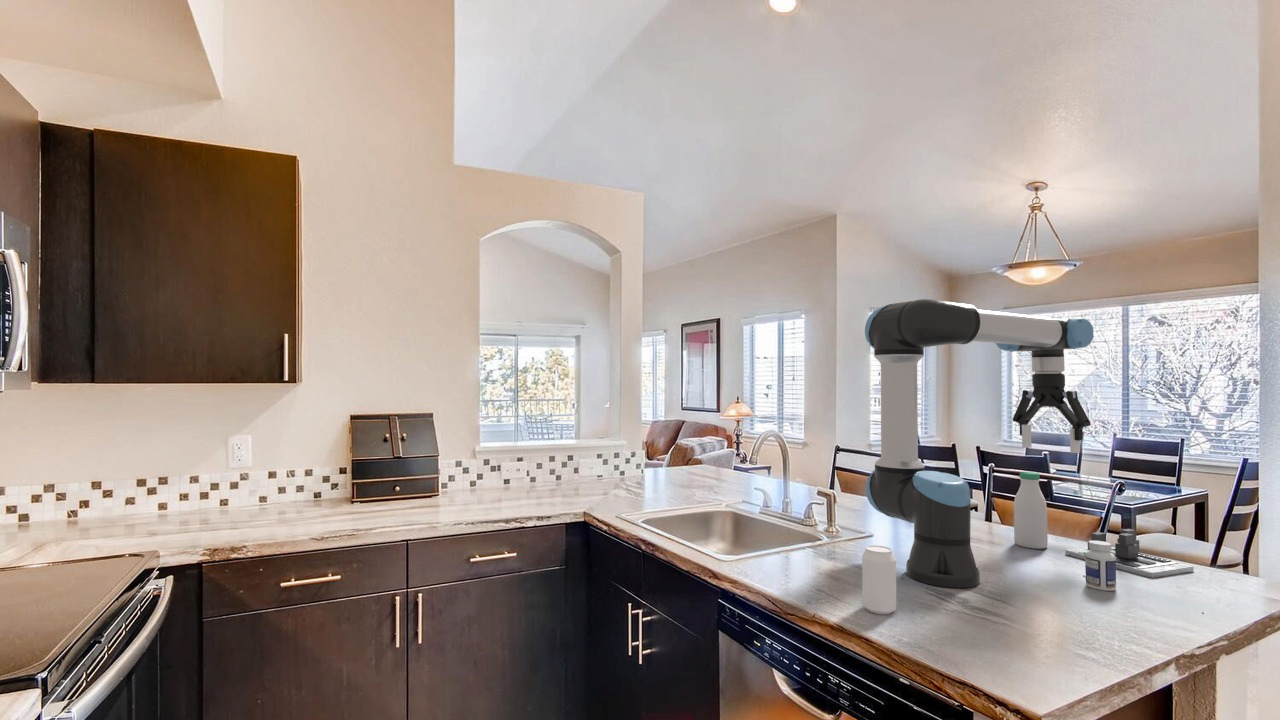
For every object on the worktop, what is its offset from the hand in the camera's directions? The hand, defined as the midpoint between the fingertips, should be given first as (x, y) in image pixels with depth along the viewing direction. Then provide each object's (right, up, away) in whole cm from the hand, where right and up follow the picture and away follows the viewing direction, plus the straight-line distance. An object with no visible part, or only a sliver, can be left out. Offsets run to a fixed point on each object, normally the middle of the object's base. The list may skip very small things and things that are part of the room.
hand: (1050, 450), depth 169 cm
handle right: (+12, -24, -11) cm, 30 cm away
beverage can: (-66, -25, -48) cm, 85 cm away
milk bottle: (-6, -26, -1) cm, 27 cm away
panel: (+8, -26, -16) cm, 31 cm away
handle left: (+2, -24, -15) cm, 28 cm away
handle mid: (+8, -24, -16) cm, 30 cm away
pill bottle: (-12, -25, -34) cm, 44 cm away
